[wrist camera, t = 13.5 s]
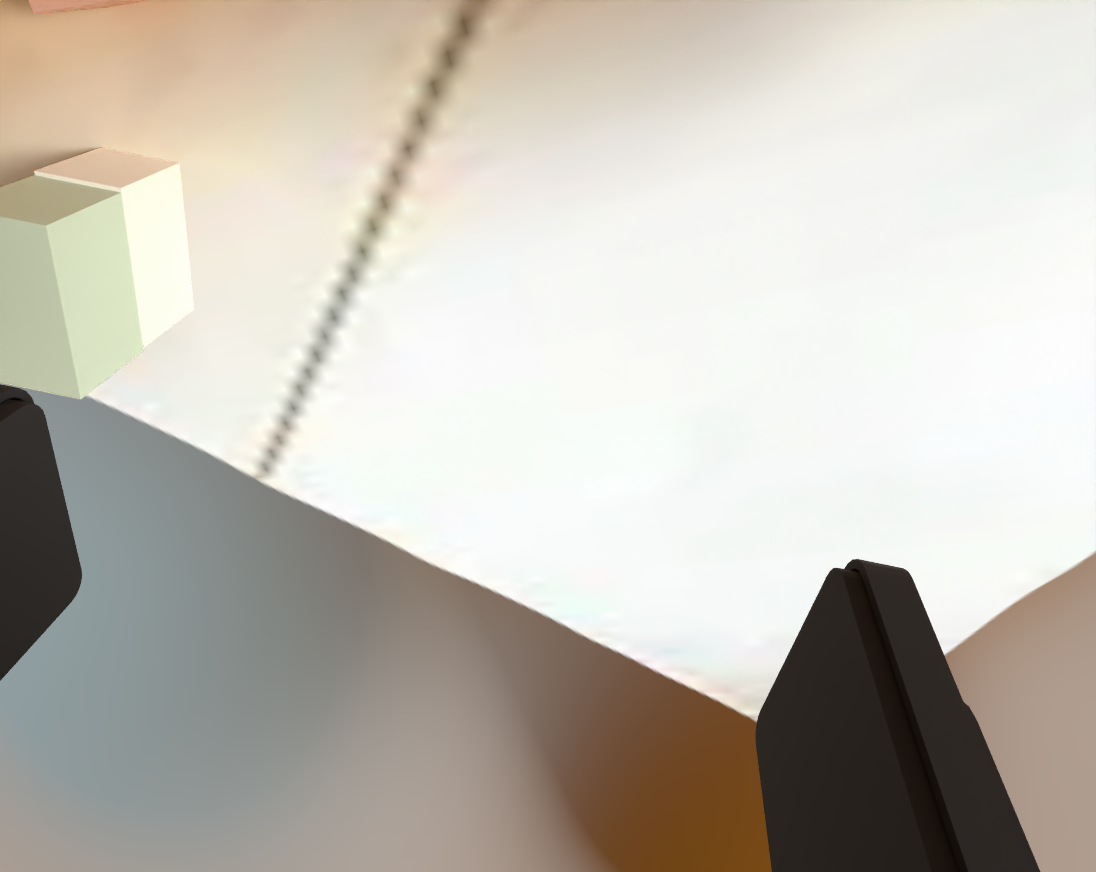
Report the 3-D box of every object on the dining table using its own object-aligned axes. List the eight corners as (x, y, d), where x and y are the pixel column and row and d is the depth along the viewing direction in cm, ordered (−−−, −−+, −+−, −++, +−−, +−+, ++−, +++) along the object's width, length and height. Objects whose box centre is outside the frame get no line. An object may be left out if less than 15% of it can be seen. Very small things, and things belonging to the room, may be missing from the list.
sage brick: (34, 175, 34) (-53, 205, 30) (121, 192, 34) (46, 225, 30) (66, 335, 38) (-6, 381, 34) (143, 350, 38) (80, 399, 34)
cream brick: (102, 147, 38) (33, 170, 34) (179, 162, 38) (121, 188, 34) (124, 294, 43) (66, 332, 38) (194, 308, 43) (143, 347, 38)
